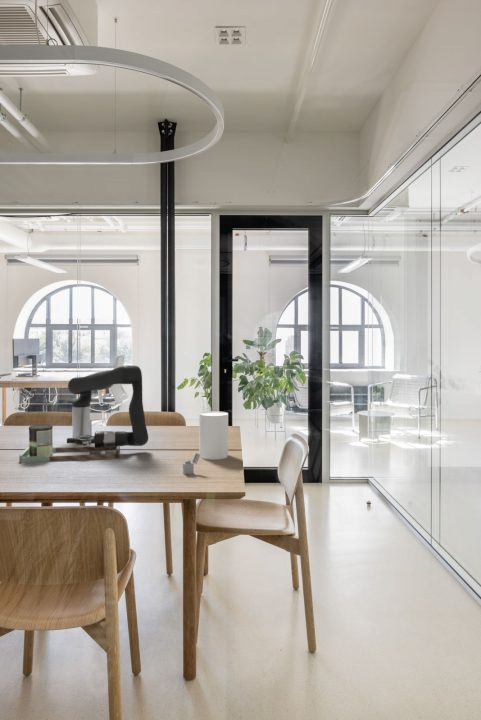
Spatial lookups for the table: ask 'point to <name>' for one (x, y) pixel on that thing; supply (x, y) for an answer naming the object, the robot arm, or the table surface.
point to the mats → (105, 452)
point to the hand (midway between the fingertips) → (66, 440)
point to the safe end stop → (33, 458)
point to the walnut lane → (84, 457)
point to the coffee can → (40, 440)
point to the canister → (213, 435)
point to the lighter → (190, 465)
